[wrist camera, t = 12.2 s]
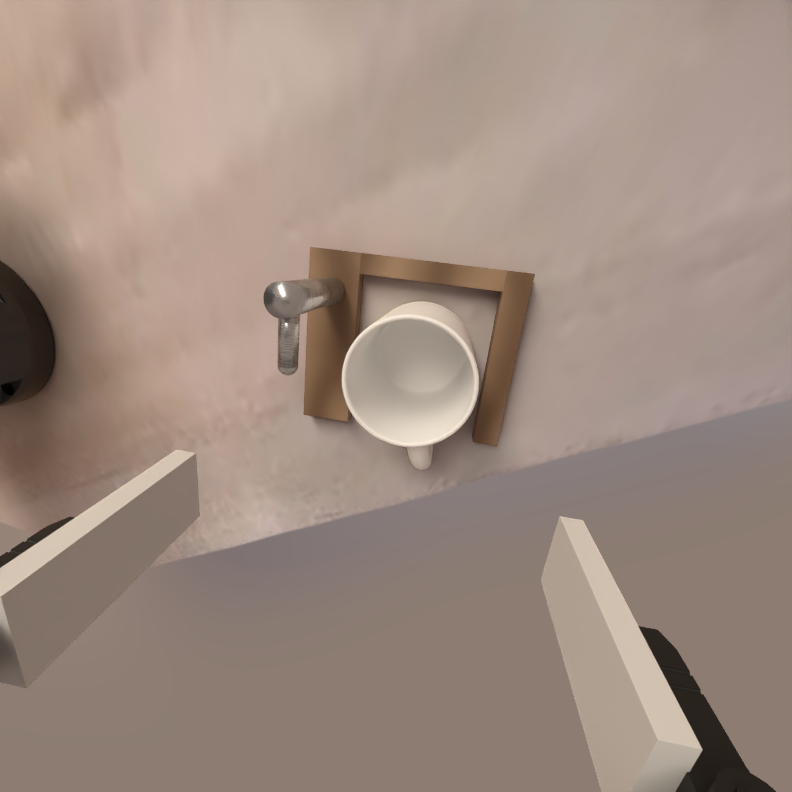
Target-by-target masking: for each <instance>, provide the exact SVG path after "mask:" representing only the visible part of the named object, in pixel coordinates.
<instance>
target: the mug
mask: <svg viewBox="0 0 792 792" xmlns="http://www.w3.org/2000/svg"><path fill="white" fill-rule="evenodd" d="M342 389H343V394H344V398H345V401H346V404H347V406H348V408H349V410H350V412H351V413H352V415H353V416H354V418H355V419H356V421H357V422H358V423H359V424H360V425H361V426H362V427H363V428H364V429H365V430H366V431H367V432H369V433H370V434H371V435H373V436H374V437H376V438H378V439H380V440H382V441H384V442H387V443H389V444H393V445H396V446H402V447H407V451H408V455H409V459H410V461H411V463H412V465H413V466H414V467H415V468H417V469H419V470H424V469H427V468H428V467H429V466H430V464H431V462H432V454H433V444H435V443H438V442H440V441H442V440H444V439H446V438H448V437H449V436H451V435H452V434H454V433H455V432H456V431H457V430H458V429H460V428H461V426H462V425H463V424H464V423H465V422H466V421H467V419H468V418H469V416H470V415H471V413H472V411H473V409H474V407H475V404H476V401H477V397H478V392H479V374H478V369H477V364H476V360H475V356H474V352H473V348H472V344H471V340H470V337H469V334H468V332H467V330H466V328H465V326H464V324H463V323H462V322H461V320H460V319H459V318H458V317H457V316H456V315H455V314H454V313H453V312H451V311H450V310H448V309H447V308H445V307H443V306H441V305H438V304H435V303H432V302H425V301H417V302H410V303H407V304H403V305H401V306H399V307H396V308H395V309H393V310H392V311H390V312H389V313H387V314H386V315H384V316H383V317H382V318H380V319H379V320H377V321H376V322H375V323H373V324H372V325H370V326H369V327H368V328H367V329H365V330H364V331H363V332H362V333H361V334H360V335H359V336H358V337H357V338H356V339H355V341H354V342H353V343H352V345H351V346H350V348H349V350H348V352H347V354H346V357H345V360H344V364H343V369H342Z"/></svg>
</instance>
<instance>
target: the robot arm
mask: <svg viewBox="0 0 792 792" xmlns="http://www.w3.org/2000/svg"><path fill="white" fill-rule="evenodd" d="M53 362H54V345H53V338H52V333H51V330H50V326H49V323H48V321H47V318H46V316H45V313H44V311H43V309H42V307H41V306H40V304H39V302H38V300H37V299H36V297H35V296H34V294H33V293H32V291H31V290H30V289H29V287H28V286H27V285H26V284H25V283H24V281H23V280H22V279H21V278H20V277H19V276H18V275H17V274H16V273H15V272H14V271H13V270H11V269H10V268H9V267H8V266H7V265H5V264H4V263H3V262H1V261H0V407H2V406H6V405H9V404H12V403H15V402H19V401H22V400H25V399H28V398H30V397H32V396H34V395H35V394H37V393H38V392H39V391H40V390H41V389H42V388H43V387H44V385H45V384H46V383H47V381H48V379H49V377H50V374H51V371H52V367H53ZM199 516H200V512H199V495H198V479H197V462H196V453H193V452H187V451H181V450H175V451H174V452H172V453H171V454H169V455H168V456H166V457H165V458H163V459H162V460H160V461H159V462H157V463H156V464H154V465H153V466H151V467H150V468H148V469H147V470H145V471H144V472H142V473H141V474H139V475H138V476H136V477H135V478H134V479H132V480H131V481H129V482H128V483H126V484H125V485H123V486H122V487H120V488H119V489H117V490H116V491H114V492H113V493H111V494H110V495H108V496H107V497H105V498H104V499H102V500H101V501H99V502H98V503H96V504H95V505H93V506H92V507H90V508H89V509H87V510H86V511H84V512H83V513H81V514H80V515H78V516H77V517H75V518H74V517H68V518H66V519H63V520H61V521H58V522H56V523H54V524H51V525H49V526H47V527H45V528H44V529H42V530H40V531H39V532H37V533H36V534H34V535H33V536H31V537H30V538H28V539H27V541H26V542H22V543H20V544H19V545H17V546H16V547H14V548H13V549H11V551H10V552H9V553H8V552H6V553H5V554H3V555H2V556H0V682H2V683H6V684H11V685H15V686H19V687H23V688H27V687H28V686H29V685H30V684H31V683H32V682H33V681H34V680H35V679H36V678H37V677H38V676H39V675H40V674H41V673H42V672H43V671H44V670H45V669H46V668H47V667H48V666H49V665H50V664H51V663H52V662H53V661H54V660H55V659H56V658H58V656H59V655H60V654H61V653H63V652H64V650H66V648H67V647H69V646H70V645H71V643H73V641H74V640H76V639H77V637H79V635H81V633H82V632H84V630H86V629H87V628H88V627H89V626H90V624H92V623H93V622H94V621H95V620H96V619H97V618H98V616H100V615H101V613H103V612H104V610H106V608H108V607H109V606H110V605H111V604H112V603H113V602H114V601H115V599H116V598H118V597H119V595H121V594H122V592H124V591H125V590H126V589H127V588H128V587H129V586H130V585H131V584H132V583H133V582H134V580H136V579H137V578H138V577H139V576H140V575H141V574H142V573H143V572H144V571H145V570H146V569H147V568H148V567H149V566H150V565H151V564H152V563H153V562H154V561H155V560H156V559H157V558H158V557H159V556H160V555H161V554H162V553H163V552H164V551H165V550H166V549H167V548H168V547H169V546H170V545H171V544H172V543H173V542H174V541H175V540H176V539H177V538H178V537H179V536H180V535H181V534H182V533H183V532H184V531H185V530H186V529H187V528H188V527H189V526H190V525H191V524H192V523H193V522H194V521H195V520H196V519H197V518H198V517H199ZM541 583H542V586H543V590H544V593H545V597H546V601H547V604H548V607H549V611H550V615H551V618H552V621H553V625H554V628H555V632H556V635H557V639H558V642H559V646H560V649H561V653H562V656H563V660H564V663H565V667H566V670H567V673H568V677H569V681H570V684H571V687H572V691H573V694H574V698H575V701H576V705H577V708H578V712H579V715H580V719H581V722H582V726H583V729H584V732H585V736H586V740H587V743H588V746H589V750H590V753H591V757H592V760H593V764H594V767H595V771H596V774H597V778H598V781H599V785H600V788H601V791H602V792H776V791H775V790H774V789H773V788H771V787H770V786H769V785H768V784H767V783H765V782H764V781H762V780H761V779H759V778H757V777H756V776H754V775H753V774H751V773H750V772H749V770H748V769H747V768H746V766H745V764H744V762H743V761H742V759H741V757H740V756H739V754H738V753H737V751H736V749H735V747H734V746H733V744H732V742H731V741H730V739H729V737H728V736H727V734H726V732H725V730H724V729H723V727H722V725H721V724H720V722H719V720H718V719H717V717H716V715H715V713H714V712H713V710H712V708H711V707H710V705H709V703H708V702H707V700H706V698H705V697H704V695H702V694H701V692H700V688H699V686H698V685H697V683H696V681H695V680H694V678H693V676H690V672H689V670H688V668H687V666H686V664H685V663H684V661H683V660H682V658H681V656H680V654H679V653H678V651H677V649H675V647H674V646H673V645H672V644H671V643H670V642H669V641H668V640H667V639H666V638H665V637H664V636H663V635H662V634H661V633H660V632H659V631H658V630H656V629H651V628H645V627H640V626H638V625H637V623H636V621H635V619H634V617H633V615H632V614H631V612H630V610H629V608H628V606H627V604H626V602H625V600H624V598H623V596H622V594H621V592H620V590H619V589H618V587H617V585H616V583H615V581H614V579H613V577H612V575H611V573H610V571H609V569H608V567H607V566H606V564H605V562H604V560H603V558H602V556H601V554H600V552H599V550H598V548H597V546H596V544H595V543H594V541H593V539H592V537H591V535H590V533H589V531H588V529H587V527H586V525H585V523H584V522H583V520H578V519H572V518H566V517H559V521H558V524H557V527H556V530H555V534H554V537H553V540H552V544H551V547H550V550H549V554H548V557H547V560H546V563H545V567H544V570H543V573H542V577H541Z"/></svg>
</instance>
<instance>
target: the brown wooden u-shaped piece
mask: <svg viewBox="0 0 792 792" xmlns="http://www.w3.org/2000/svg"><path fill="white" fill-rule="evenodd" d="M363 274H366V275H374V276H382V277H390V278H398V279H406V280H414V281H422V282H430V283H438V284H446V285H454V286H462V287H470V288H477V289H485V290H493V291H500V296H499V301H498V306H497V311H496V316H495V321H494V326H493V331H492V336H491V342H490V347H489V352H488V357H487V362H486V367H485V372H484V377H483V382H482V387H481V392H480V398H479V403H478V408H477V413H476V418H475V423H474V428H473V433H472V438H473V442H476V443H482V444H488V445H494V446H497V442H498V438H499V433H500V429H501V424H502V419H503V415H504V410H505V406H506V401H507V397H508V392H509V388H510V383H511V379H512V374H513V370H514V365H515V361H516V356H517V352H518V347H519V343H520V338H521V334H522V329H523V325H524V320H525V316H526V311H527V307H528V302H529V298H530V293H531V289H532V284H533V279H534V275H535V274H530V273H521V272H513V271H505V270H496V269H488V268H480V267H472V266H463V265H455V264H447V263H439V262H430V261H422V260H414V259H406V258H397V257H389V256H381V255H372V254H364V253H356V252H348V251H339V250H331V249H323V248H315V247H310V268H309V279H315V278H327V277H336V278H338V279H340V280H341V281H342V282H343V284H344V286H345V296H344V298H343V299H342V300H341V301H340V302H338V303H335V304H332V305H328V306H325V307H322V308H319V309H316V310H312V311H309V312H308V318H307V343H306V368H305V394H304V415H309V416H315V417H321V418H328V419H334V420H340V421H346V422H348V420H349V419H350V417H351V416H352V413H351V412H350V410H349V408H348V406H347V404H346V401H345V398H344V394H343V389H342V369H343V364H344V360H345V357H346V354H347V352H348V350H349V348H350V346H351V345H352V343H353V342H354V341H355V339H356V338H357V337H358V333H359V321H360V309H361V297H362V285H363Z"/></svg>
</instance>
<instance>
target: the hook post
mask: <svg viewBox="0 0 792 792" xmlns="http://www.w3.org/2000/svg"><path fill="white" fill-rule="evenodd" d="M344 296H345V286H344V284H343V282H342V281H341V280H340V279H338V278H336V277H327V278H315V279H304V280H292V281H280V282H274V283H272V284H270V285H269V286H268V287H267V288H266V290H265V293H264V304H265V307H266V309H267V310H268V312H269V313H270V314H271V315H273V316H274V317H276V318H278V369H279V371H280V372H281V373H282V374H284V375H292V374H294V373H295V372H296V371H297V368H298V350H299V320H300V314H303V313H306V312H309V311H312V310H316V309H319V308H322V307H325V306H328V305H332V304H335V303H338V302H340V301H341V300H342V299H343V298H344Z"/></svg>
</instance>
